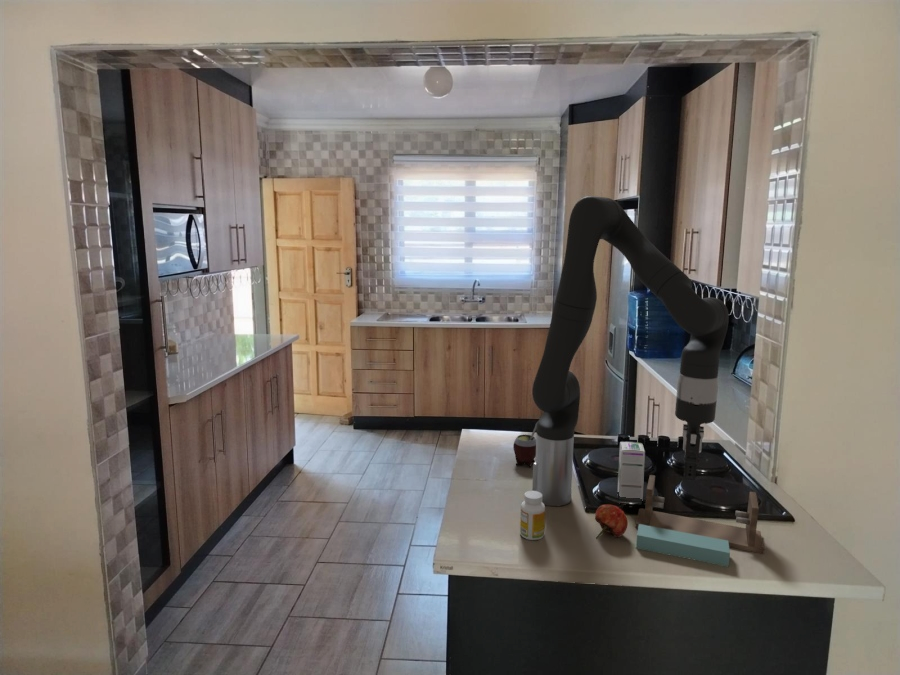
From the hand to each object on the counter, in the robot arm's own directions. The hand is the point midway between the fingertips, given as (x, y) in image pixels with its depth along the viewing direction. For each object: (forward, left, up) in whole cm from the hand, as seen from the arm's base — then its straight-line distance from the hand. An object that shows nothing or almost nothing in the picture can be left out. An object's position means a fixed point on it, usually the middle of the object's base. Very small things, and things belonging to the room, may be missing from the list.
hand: (689, 470), depth 119 cm
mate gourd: (-43, +30, -18) cm, 56 cm away
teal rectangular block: (0, -1, -19) cm, 19 cm away
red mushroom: (-15, 0, -18) cm, 24 cm away
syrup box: (-13, +19, -18) cm, 29 cm away
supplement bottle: (-31, -7, -18) cm, 37 cm away
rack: (+3, +9, -18) cm, 21 cm away
